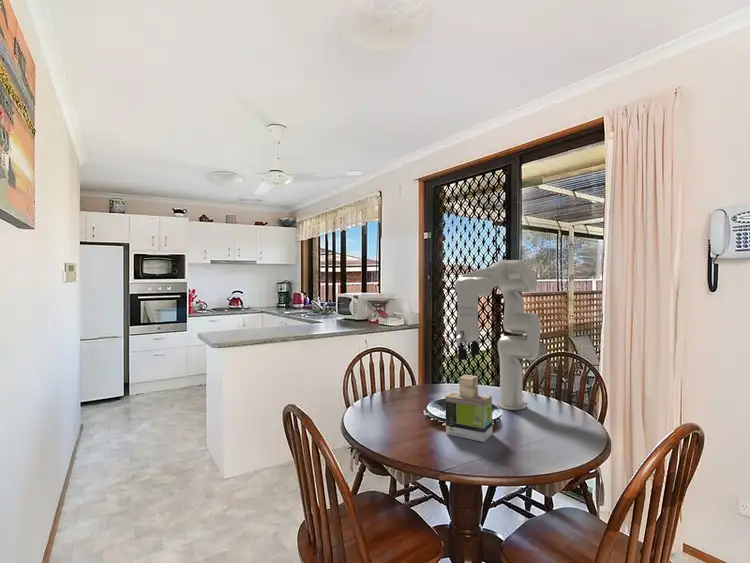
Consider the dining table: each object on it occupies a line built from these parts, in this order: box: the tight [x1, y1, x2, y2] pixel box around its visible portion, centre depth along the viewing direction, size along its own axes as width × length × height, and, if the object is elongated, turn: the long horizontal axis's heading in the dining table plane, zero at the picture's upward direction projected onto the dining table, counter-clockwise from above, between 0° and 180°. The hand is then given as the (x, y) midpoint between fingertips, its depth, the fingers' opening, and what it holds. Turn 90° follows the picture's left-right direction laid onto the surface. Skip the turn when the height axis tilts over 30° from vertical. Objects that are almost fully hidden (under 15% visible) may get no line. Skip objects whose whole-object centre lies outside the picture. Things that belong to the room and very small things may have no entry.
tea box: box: [444, 390, 493, 443], centre depth 159 cm, size 15×10×15 cm, turn 56°
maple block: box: [459, 374, 479, 398], centre depth 159 cm, size 5×5×7 cm
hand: (468, 356), depth 159 cm, fingers open, 9 cm apart
